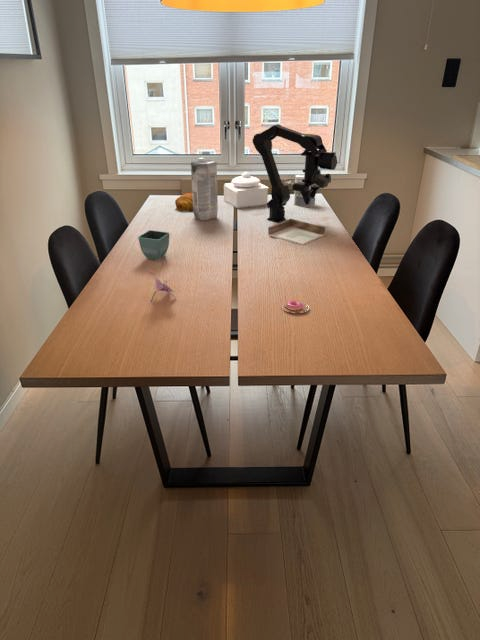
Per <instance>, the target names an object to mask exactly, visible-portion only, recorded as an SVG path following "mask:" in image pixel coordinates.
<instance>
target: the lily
mask: <svg viewBox="0 0 480 640" xmlns="http://www.w3.org/2000/svg"><path fill="white" fill-rule="evenodd" d="M148 270H149V271H150V272H151V273H152V274H153V275H154V276H153V277H152V278H153V280H155V288H156V290H155V291H154V294H153V296H152V298H151V300H150V303H152V301H153V299H154V297H155V296H156V294H157V292H165V293H169V294H170V295H171V296H172V297H173V298H176V296H175V295H174V294H173V293H175V291H174V290H173V289H172V288H171V287H170V286H169V285H167V282H168V281H167V280H164V282H162V281H161V280H160V279H158V277H157V275H156V273H154V272H153V271H152V270H151V269H150V268H148ZM172 292H173V293H172Z"/></svg>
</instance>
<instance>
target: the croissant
mask: <svg viewBox="0 0 480 640" xmlns="http://www.w3.org/2000/svg"><path fill="white" fill-rule="evenodd" d="M174 202H175V203H174V204H175V208H176V209H177V210H179V211H183V212H184V211H185V212H187V211H188V212H194V211H193V196H192V192H187V193H184V194H182V195H180V196H179V197H177V198H176V199H175V201H174Z"/></svg>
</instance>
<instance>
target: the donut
mask: <svg viewBox="0 0 480 640" xmlns="http://www.w3.org/2000/svg"><path fill="white" fill-rule="evenodd" d="M286 303H287V304H286V310H287V311H286V310H284V309H283V305H282V306H281V308H282V310H284V311H285V312H287V313H290V312H291V313H292V314H296V313H295V312H297V311H296V310H298V311H299V312H300V313H299V314H303V313H306V312H308V311H310V306H309V304H306V305H307V306H308V309H307V308H306V309H307V311H305V310H304V311H305V312H303V311H300V309H301V310H302V309H303V305H304V304H302V303H303V302H300V301H297V300H290V301H288V302H286ZM307 306H306V307H307ZM287 308H288V309H287ZM289 309H290V310H289ZM291 310H294V311H291ZM289 311H290V312H289ZM291 313H290V314H291Z"/></svg>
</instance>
